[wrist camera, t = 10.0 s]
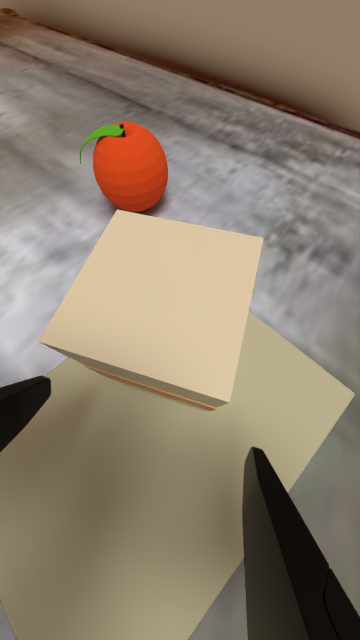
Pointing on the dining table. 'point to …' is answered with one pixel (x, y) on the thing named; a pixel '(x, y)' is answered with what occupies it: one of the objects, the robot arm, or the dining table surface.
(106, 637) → the mat
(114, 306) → the carton
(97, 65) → the dining table surface
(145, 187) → the clementine
